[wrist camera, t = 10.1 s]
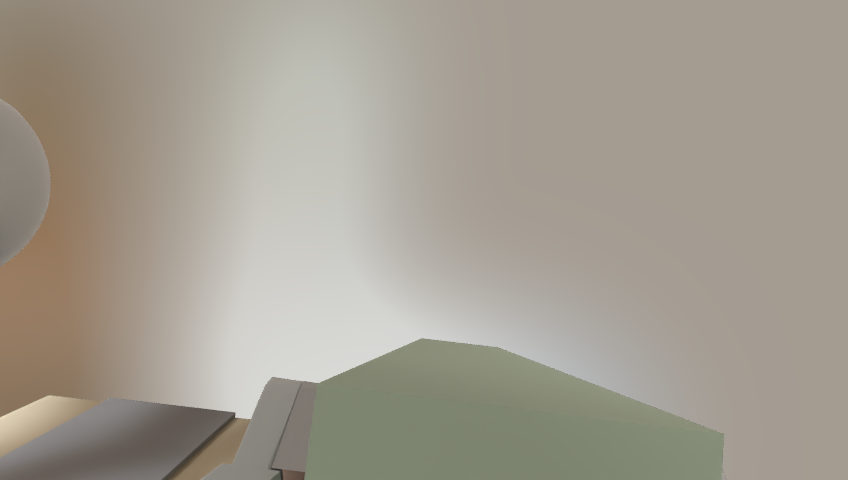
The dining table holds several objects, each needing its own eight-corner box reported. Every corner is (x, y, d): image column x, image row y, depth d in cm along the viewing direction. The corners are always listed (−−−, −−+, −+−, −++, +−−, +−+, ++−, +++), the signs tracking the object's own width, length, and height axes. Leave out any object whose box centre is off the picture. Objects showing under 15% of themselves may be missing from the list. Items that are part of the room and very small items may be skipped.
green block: (258, 825, 5) (316, 383, 6) (412, 416, 29) (421, 338, 29) (698, 896, 5) (723, 434, 5) (489, 426, 29) (497, 347, 29)
